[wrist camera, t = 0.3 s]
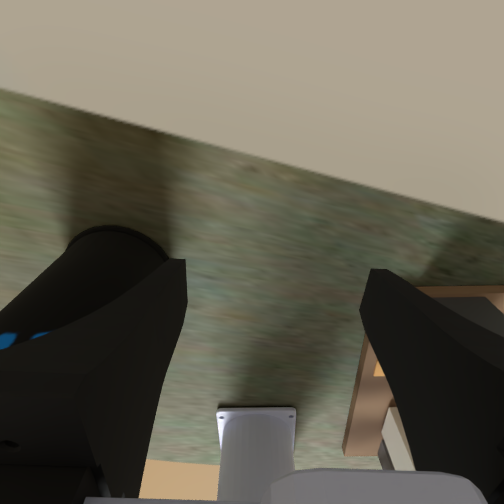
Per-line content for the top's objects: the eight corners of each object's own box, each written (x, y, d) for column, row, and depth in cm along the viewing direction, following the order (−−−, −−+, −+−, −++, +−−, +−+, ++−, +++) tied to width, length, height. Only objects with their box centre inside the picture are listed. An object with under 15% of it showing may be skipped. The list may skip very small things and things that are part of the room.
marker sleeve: (431, 431, 31) (468, 504, 26) (381, 432, 31) (407, 505, 26) (442, 406, 29) (484, 479, 24) (388, 407, 29) (419, 480, 24)
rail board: (440, 445, 35) (463, 489, 31) (342, 446, 35) (352, 490, 31) (516, 284, 24) (564, 321, 21) (374, 287, 24) (396, 324, 21)
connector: (470, 331, 25) (542, 415, 19) (408, 332, 25) (459, 416, 19) (484, 296, 24) (569, 376, 17) (418, 297, 24) (478, 377, 17)
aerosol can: (184, 312, 26) (38, 812, 8) (86, 318, 26) (-258, 811, 8) (163, 220, 22) (-208, 811, 4) (48, 228, 22) (-750, 809, 4)
